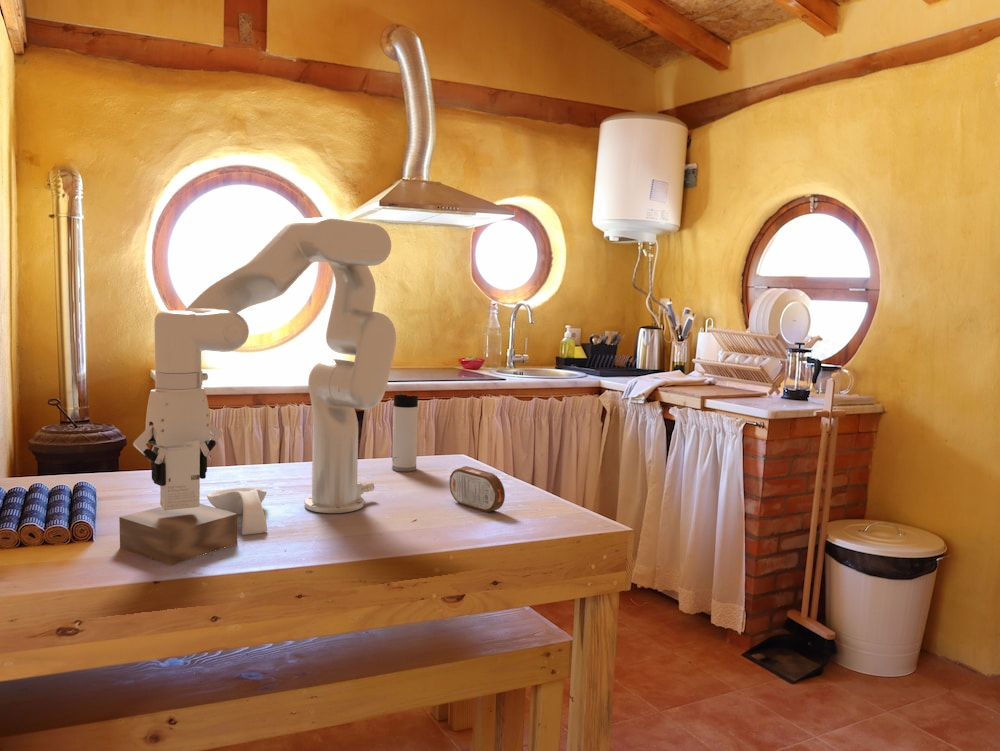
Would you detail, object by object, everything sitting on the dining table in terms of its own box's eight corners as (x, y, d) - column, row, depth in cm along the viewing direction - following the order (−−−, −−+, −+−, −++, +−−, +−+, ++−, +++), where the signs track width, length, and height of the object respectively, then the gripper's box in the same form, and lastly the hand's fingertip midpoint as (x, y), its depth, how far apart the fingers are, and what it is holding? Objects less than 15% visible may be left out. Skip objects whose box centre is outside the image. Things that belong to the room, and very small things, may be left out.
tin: (505, 513, 171) (506, 475, 170) (495, 516, 168) (496, 477, 167) (456, 499, 181) (457, 462, 180) (446, 501, 178) (447, 464, 177)
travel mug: (388, 471, 204) (390, 394, 202) (396, 465, 210) (397, 390, 208) (412, 473, 203) (414, 395, 201) (418, 467, 209) (420, 392, 207)
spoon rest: (202, 506, 168) (202, 473, 167) (259, 500, 174) (259, 468, 173) (224, 539, 148) (224, 502, 147) (287, 531, 154) (287, 495, 153)
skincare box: (164, 511, 138) (163, 443, 137) (159, 505, 142) (158, 438, 141) (201, 507, 142) (200, 440, 140) (195, 500, 146) (194, 435, 144)
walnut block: (187, 530, 152) (187, 500, 152) (237, 545, 145) (237, 513, 144) (119, 550, 140) (119, 517, 140) (170, 567, 133) (169, 532, 132)
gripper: (213, 375, 148) (213, 469, 150) (118, 382, 135) (121, 485, 137) (235, 380, 144) (235, 476, 146) (139, 387, 130) (141, 493, 132)
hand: (180, 480), depth 141 cm, fingers closed on skincare box, 6 cm apart
